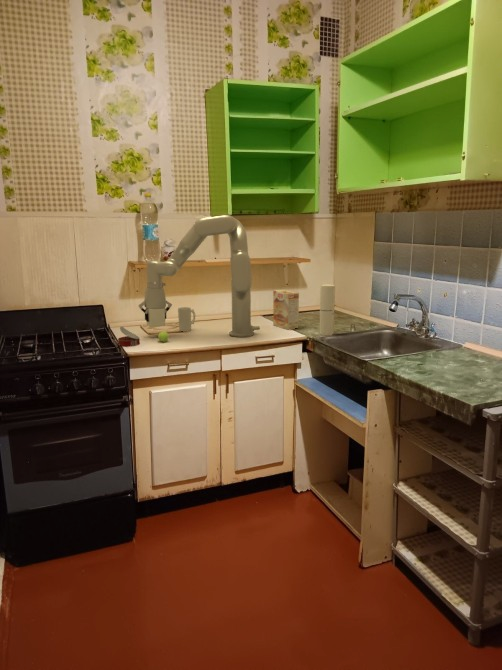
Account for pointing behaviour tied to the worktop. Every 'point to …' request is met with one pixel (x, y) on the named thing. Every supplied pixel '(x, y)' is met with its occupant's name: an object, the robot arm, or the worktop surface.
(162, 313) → the grey piece
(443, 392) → the worktop surface
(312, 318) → the worktop surface
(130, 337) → the canned food
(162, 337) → the ball
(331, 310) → the cylindrical container
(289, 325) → the coffeecake box
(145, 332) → the worktop surface
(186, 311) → the mug
